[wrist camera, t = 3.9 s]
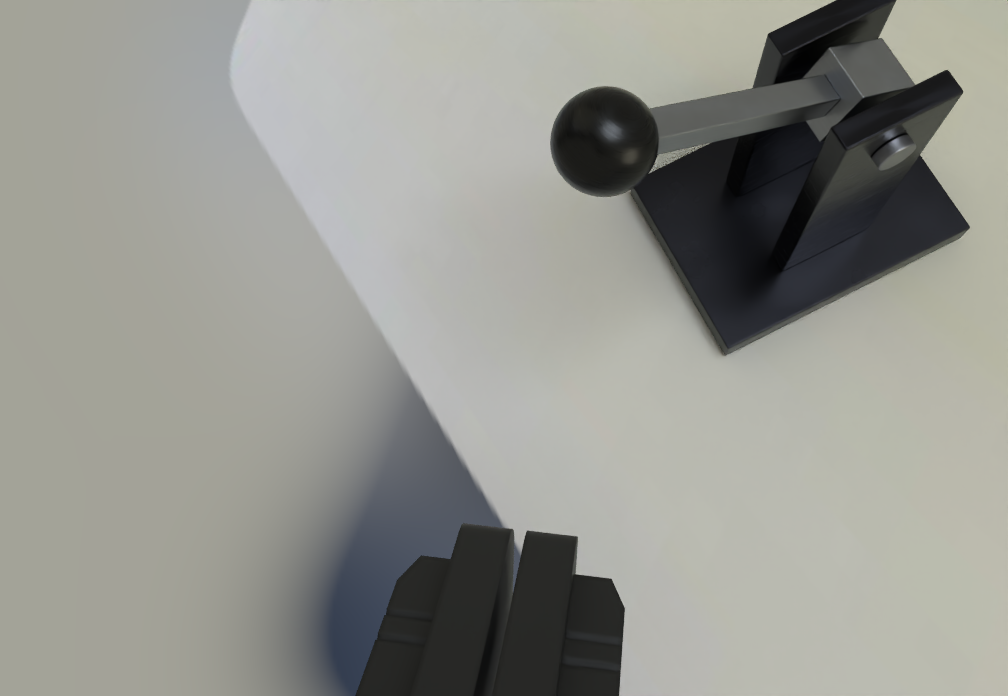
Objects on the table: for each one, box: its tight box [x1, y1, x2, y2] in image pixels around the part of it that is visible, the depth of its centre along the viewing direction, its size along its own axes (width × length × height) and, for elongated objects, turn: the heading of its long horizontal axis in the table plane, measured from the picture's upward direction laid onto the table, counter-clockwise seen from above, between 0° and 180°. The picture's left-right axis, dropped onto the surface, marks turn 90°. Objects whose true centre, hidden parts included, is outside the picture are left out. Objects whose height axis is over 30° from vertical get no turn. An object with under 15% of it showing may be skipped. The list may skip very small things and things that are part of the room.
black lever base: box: [631, 0, 970, 355], centre depth 38 cm, size 12×9×13 cm
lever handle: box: [550, 38, 915, 197], centre depth 31 cm, size 14×3×3 cm, turn 116°
